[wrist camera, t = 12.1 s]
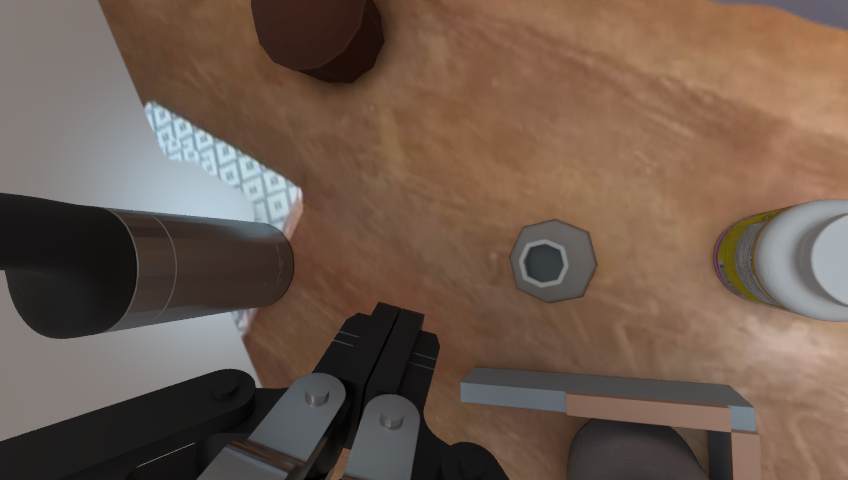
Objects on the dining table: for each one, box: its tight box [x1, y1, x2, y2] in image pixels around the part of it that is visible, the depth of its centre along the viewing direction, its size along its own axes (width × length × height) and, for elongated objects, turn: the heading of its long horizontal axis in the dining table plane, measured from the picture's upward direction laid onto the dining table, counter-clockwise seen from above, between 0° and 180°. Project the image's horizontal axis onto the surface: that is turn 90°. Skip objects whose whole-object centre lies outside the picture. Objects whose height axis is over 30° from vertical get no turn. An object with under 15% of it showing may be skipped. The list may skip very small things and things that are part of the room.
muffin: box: [251, 0, 384, 83], centre depth 40 cm, size 12×11×10 cm
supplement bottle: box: [714, 199, 848, 322], centre depth 26 cm, size 7×7×13 cm
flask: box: [510, 219, 598, 303], centre depth 32 cm, size 7×7×10 cm
